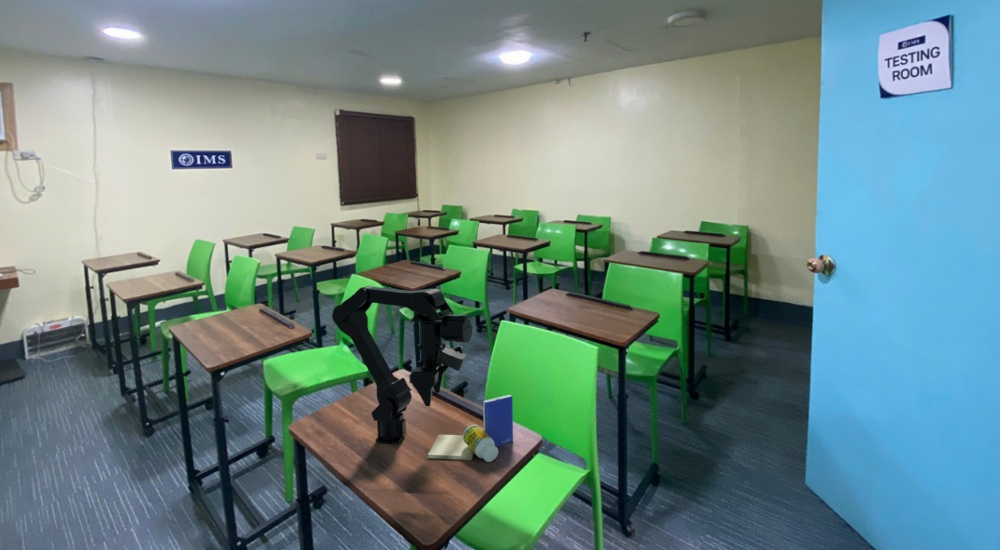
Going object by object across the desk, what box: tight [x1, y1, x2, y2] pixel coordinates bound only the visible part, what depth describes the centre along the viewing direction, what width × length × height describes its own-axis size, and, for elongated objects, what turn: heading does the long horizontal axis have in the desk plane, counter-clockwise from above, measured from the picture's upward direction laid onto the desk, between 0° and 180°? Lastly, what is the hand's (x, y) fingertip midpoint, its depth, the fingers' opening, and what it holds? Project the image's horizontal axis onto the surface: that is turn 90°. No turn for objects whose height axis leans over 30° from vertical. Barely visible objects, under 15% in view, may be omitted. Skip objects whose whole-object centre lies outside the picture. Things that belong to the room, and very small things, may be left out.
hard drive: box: [482, 394, 514, 448], centre depth 122 cm, size 2×8×12 cm, turn 121°
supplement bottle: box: [462, 424, 499, 463], centre depth 116 cm, size 5×5×10 cm
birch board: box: [427, 434, 475, 461], centre depth 121 cm, size 11×11×2 cm
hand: (432, 399), depth 120 cm, fingers open, 9 cm apart
